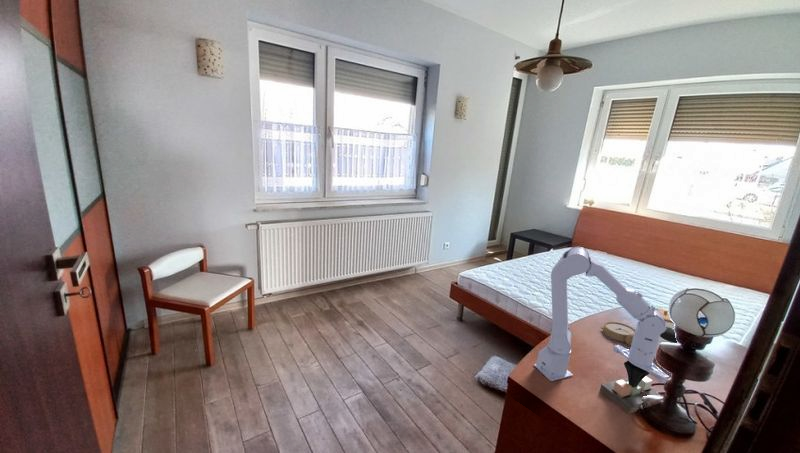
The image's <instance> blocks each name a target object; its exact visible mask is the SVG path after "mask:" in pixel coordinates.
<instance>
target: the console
mask: <svg viewBox="0 0 800 453" xmlns="http://www.w3.org/2000/svg"><path fill="white" fill-rule="evenodd" d="M618 380H624V381H625V382H628V376H627V377H622V378H619V379H615V380H612V381H608V382H604V383H601V385H600V389H599V392H601V393H602V394H603V395H604V396H605V397H607V398H608V399H609V400H610V401H611V402H613V403H614V404H615V405H616V406H617V407H619V408H620V409H621V410H623V412H625V413H626V414H627V415H629V414H633V413H635V412H638V411H637V410H638V409H639V407H640V406H641V405H642V403H643V401H642V397H643V396H647V395H661V394H660V393H659V392H657V391H656V390H654V389H653V388H652V387H651V388H650V389H647V390H644V391H643V392H642V389H641V390H640V394H637V395H634V396H633V395H632V394H630V395H627V396H624V397H622V396H621V395H619V394H618V393H617V392H616V391H614V390H613V388H614V384H615V381H618Z"/></svg>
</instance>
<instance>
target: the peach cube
mask: <svg viewBox="0 0 800 453" xmlns="http://www.w3.org/2000/svg"><path fill="white" fill-rule="evenodd" d="M617 380H618V379H617ZM614 381H615V380H614ZM631 388H632V386H631V385H629V384H628V383H626V382H625V381H624V380H618V381H615V384H614V388H613V390H614V391H616V392H617V393H618V394H619V395H621V396H622V397H624V396H627V395H630V392H631Z"/></svg>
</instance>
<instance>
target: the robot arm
mask: <svg viewBox="0 0 800 453" xmlns="http://www.w3.org/2000/svg"><path fill="white" fill-rule="evenodd" d="M584 273H585V276H586V277H587V276H588V277H596V278H597V280H599V281H600V282H601V283H602V284H604V285H605V286H606V287H607V288H608V289H609V290H611V292H612V293H613V294H615V295H616V298H615V301H616V302H617V303H618V304H619V305H620V306H621V307H622V308H623V309H624V310H625V311H626V312H627V313H628V314H629V315H630V316H631V317H632V318H633V319H635V320H637V324H636V328H635V333H634V337H633V340H632V344H631V345H630V348H628V349H627V348H625V347H623V346H621V345H620V344H617V345H614V348H613V351H614V353H616V354H617V353H618V354H620V355H621V356H623V357H624V358H625V359H626V361H624V363H623V365H624V368H625V370H626V372H627V377H628V383H629V385H631V386H632V387H636V386H638V384H639V383H640V381H641V380H642V379H643V378H644V377H645V376H647V377H648V376H649V375H651V376H653V377H655V378H657V379H658V381H659V382H660V383H661V384H664V383H667V382H668V381H667V380H669V377H670V375H668V374H666V373H665V372H664V371H662V369H660V368H659V367H658V366H657V365H656V364H655V363H654V360H655V358H654V356H655V352H656V349H657V346H658V342H659V339H660V338H659V337H660V334H662V333H663V332H665V330H666V329H667V328H665V327H666V324H665V321H664V319H663V317H662V315H661V313H660V312H659V311H658V309H657V308H658V307H655V305H653V304H652V305H651V304H650V303H649V302H648V301H647V300H645V298H644V297H643V296H644V295H643V293H641V292H640V291H638V290H637V291H636V290H635V289H633V288H628V287H625V285H623V284H622V283H621V281H619V280H618V279H617V277H615V276H614V274H613V273H612V272H611V271H610V270H609V269H608V268H607V267H606V266H605V265H603V263H602V262H601V261H600V260H599V259H597V258H596V257H595V256H594V255H593V254H591V253H590V254H589V251H588V250H587V249H585V247H581V246H573V247H571V248H569V249H568V250H566V251H564V252H563V254H562V256H561V257H560V259H559V260H558V261H557V262H556V264H555V265H554V266H553V267H552V269H551V273H550V284H551V285H550V288H551V311H552V316H551V317H552V326H551V334H550V335H551V336H550V339H549V340H548V341H547V345H546V346H545V347H543V348H542V349H540V350H539V351H538V354H537V359H536V362H535V363H534V364H533V366H534V367H535V368H537V370H539V372H540V373H541V374H542V375H544V376H545V377H546V378H547V379H548V380H549V381H551V382H553V381H557V380H561V379H565V378H570V377H573V375H574V374H573V373H572V372H571V371H569V370H568V367H569V362H570V357H571V354H572V353H571V352H572V338H573V333H572V330H571V329H570V326H569V324H570V323H569V314H568V313H569V309H568V306H569V305H568V304H569V302H568V280H569V279H571V278H573V277H574V276H578V275H581V274H584ZM666 381H667V382H666Z"/></svg>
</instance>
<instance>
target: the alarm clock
mask: <svg viewBox="0 0 800 453" xmlns="http://www.w3.org/2000/svg"><path fill="white" fill-rule="evenodd" d="M600 329H601V330H603V333H604V334H605V336H607V337H608V338H610V339H612V340H614V341H618V342H623V343H625V344H627V345H628V346H631V344H632V340H633V337H634V333H635V330H636V328H634V327H632V326H631V325H629V324H625V323H622V322H618V321H607V322H605V323H604V325H603V327H600Z"/></svg>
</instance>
